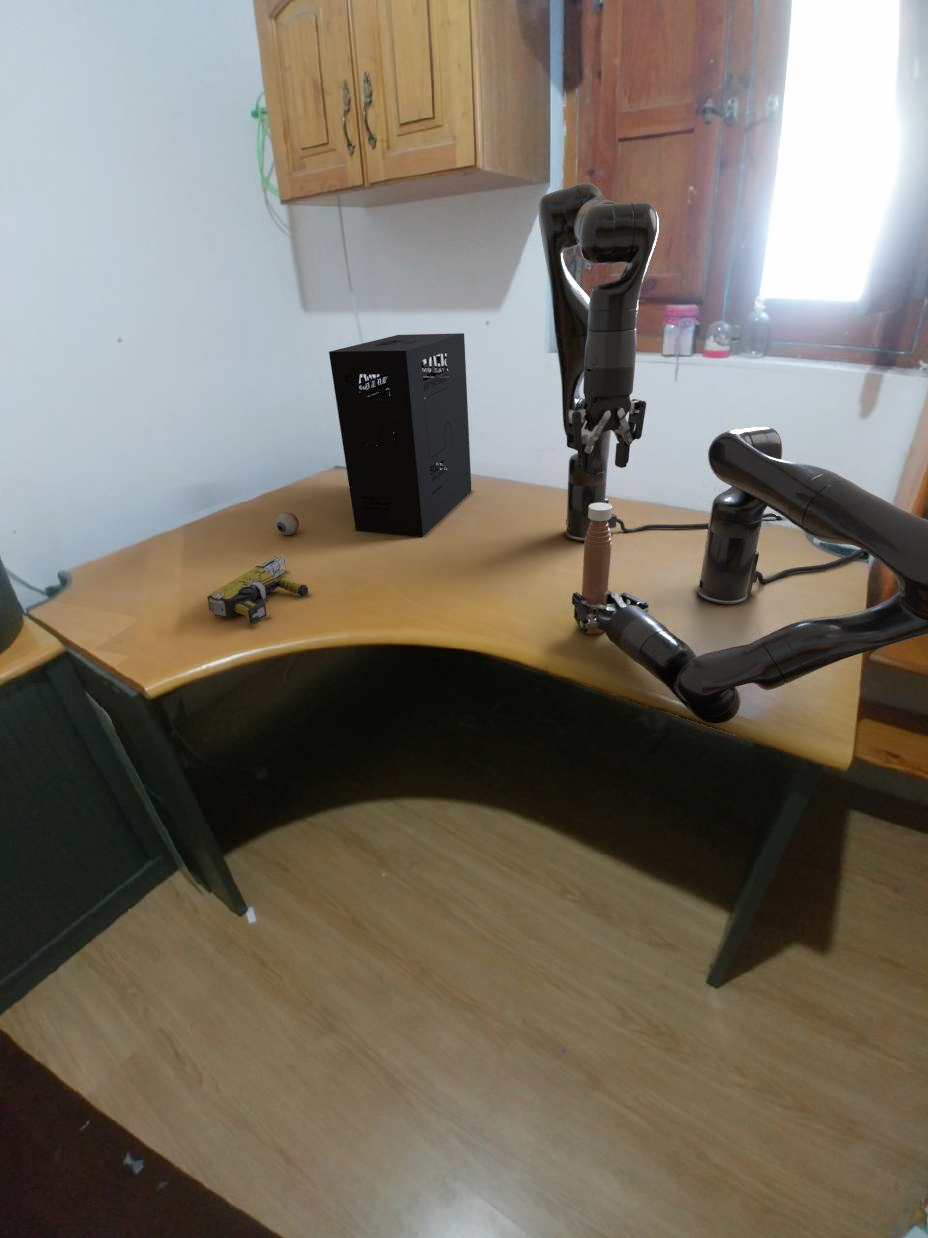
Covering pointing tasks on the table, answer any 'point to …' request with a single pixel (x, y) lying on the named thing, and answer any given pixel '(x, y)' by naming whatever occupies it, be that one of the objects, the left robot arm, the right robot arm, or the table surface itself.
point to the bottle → (596, 565)
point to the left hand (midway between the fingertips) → (602, 470)
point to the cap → (600, 511)
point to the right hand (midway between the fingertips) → (587, 594)
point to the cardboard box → (404, 430)
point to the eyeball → (287, 523)
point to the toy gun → (252, 591)
